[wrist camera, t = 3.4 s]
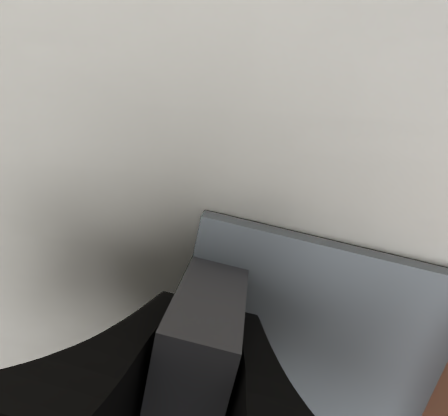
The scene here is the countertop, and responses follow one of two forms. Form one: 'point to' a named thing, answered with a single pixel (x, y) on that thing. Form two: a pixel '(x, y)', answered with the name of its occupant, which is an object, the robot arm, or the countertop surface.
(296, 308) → the slate strip
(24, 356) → the countertop surface
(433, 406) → the terracotta block
